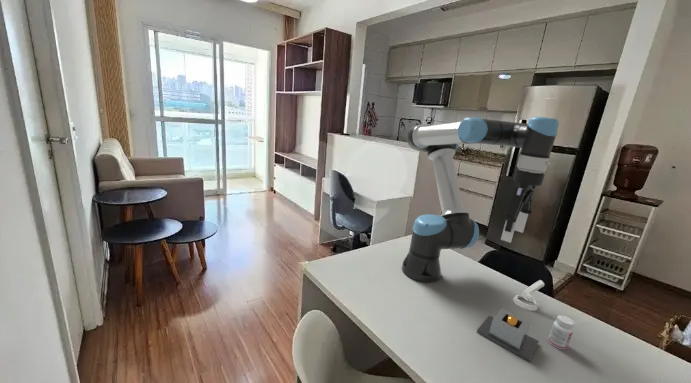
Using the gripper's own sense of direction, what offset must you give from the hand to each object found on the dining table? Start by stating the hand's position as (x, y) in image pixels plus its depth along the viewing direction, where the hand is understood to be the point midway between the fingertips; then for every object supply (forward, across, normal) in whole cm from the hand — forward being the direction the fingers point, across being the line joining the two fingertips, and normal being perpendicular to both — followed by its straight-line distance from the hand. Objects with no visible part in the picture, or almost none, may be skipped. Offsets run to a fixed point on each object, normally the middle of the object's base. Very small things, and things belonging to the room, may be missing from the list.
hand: (512, 235), depth 93 cm
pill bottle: (+27, -2, -19) cm, 33 cm away
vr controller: (+27, +13, -7) cm, 31 cm away
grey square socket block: (+26, -12, -8) cm, 30 cm away
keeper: (+27, -12, -8) cm, 30 cm away
